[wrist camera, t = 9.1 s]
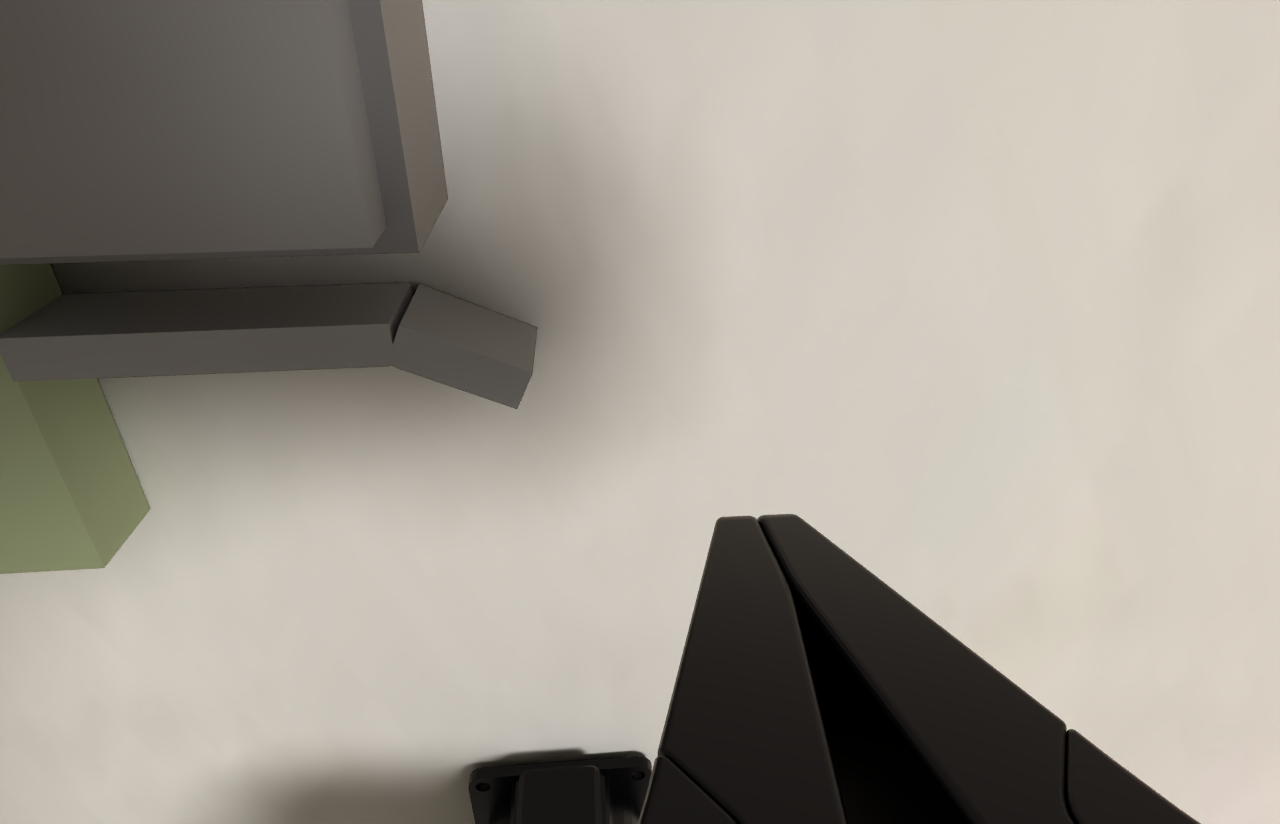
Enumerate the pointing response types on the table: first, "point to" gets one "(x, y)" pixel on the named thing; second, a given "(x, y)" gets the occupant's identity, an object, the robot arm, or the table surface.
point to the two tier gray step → (215, 129)
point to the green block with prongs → (184, 345)
